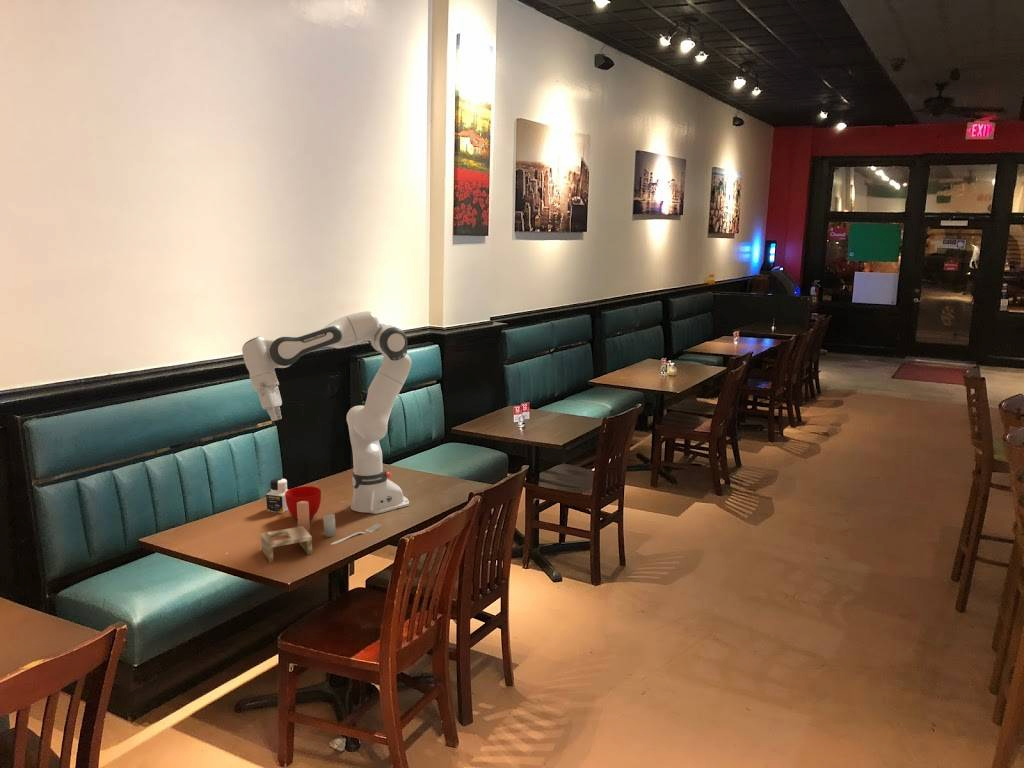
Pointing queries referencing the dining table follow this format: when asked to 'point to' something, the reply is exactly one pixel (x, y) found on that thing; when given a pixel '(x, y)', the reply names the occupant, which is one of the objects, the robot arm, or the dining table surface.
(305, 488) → the ceramic cup
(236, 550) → the dining table surface
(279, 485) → the medicine bottle
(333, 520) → the short dowel
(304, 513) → the long dowel
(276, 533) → the bridge
